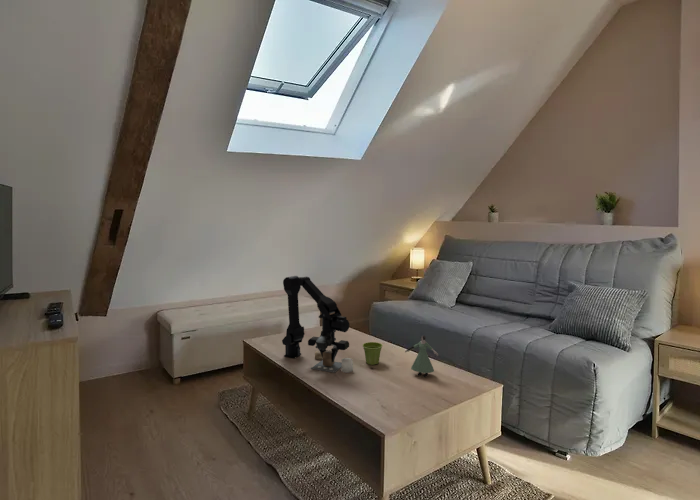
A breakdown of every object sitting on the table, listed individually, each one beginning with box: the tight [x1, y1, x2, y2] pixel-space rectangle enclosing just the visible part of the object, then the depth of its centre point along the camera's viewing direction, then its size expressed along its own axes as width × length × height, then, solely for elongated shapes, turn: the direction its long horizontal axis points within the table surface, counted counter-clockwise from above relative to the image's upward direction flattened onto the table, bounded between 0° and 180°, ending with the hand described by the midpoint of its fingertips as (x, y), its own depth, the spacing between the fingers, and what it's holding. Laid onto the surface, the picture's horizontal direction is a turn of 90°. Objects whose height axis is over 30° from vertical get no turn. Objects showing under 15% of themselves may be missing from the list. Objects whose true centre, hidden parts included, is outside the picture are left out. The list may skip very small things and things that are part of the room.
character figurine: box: [404, 334, 439, 378], centre depth 203 cm, size 16×8×18 cm, turn 59°
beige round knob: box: [314, 350, 323, 361], centre depth 225 cm, size 5×5×3 cm
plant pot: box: [362, 341, 383, 366], centre depth 219 cm, size 9×9×9 cm
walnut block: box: [322, 349, 335, 366], centre depth 214 cm, size 4×4×6 cm
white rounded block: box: [341, 357, 354, 374], centre depth 209 cm, size 5×5×5 cm
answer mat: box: [310, 359, 342, 373], centre depth 214 cm, size 12×12×1 cm
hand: (328, 361), depth 214 cm, fingers closed on walnut block, 4 cm apart
